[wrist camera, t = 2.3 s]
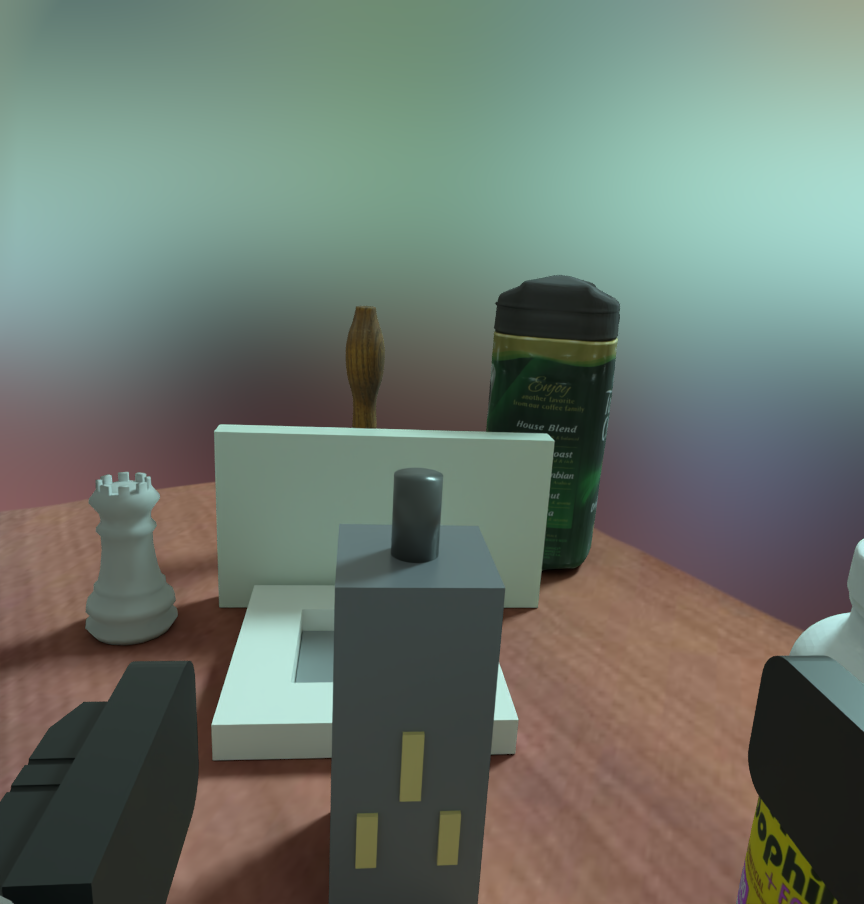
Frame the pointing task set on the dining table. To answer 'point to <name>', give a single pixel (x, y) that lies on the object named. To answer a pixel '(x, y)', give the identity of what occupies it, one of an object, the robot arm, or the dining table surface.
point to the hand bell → (365, 365)
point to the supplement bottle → (770, 848)
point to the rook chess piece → (128, 566)
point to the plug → (412, 703)
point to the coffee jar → (558, 395)
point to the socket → (315, 556)
